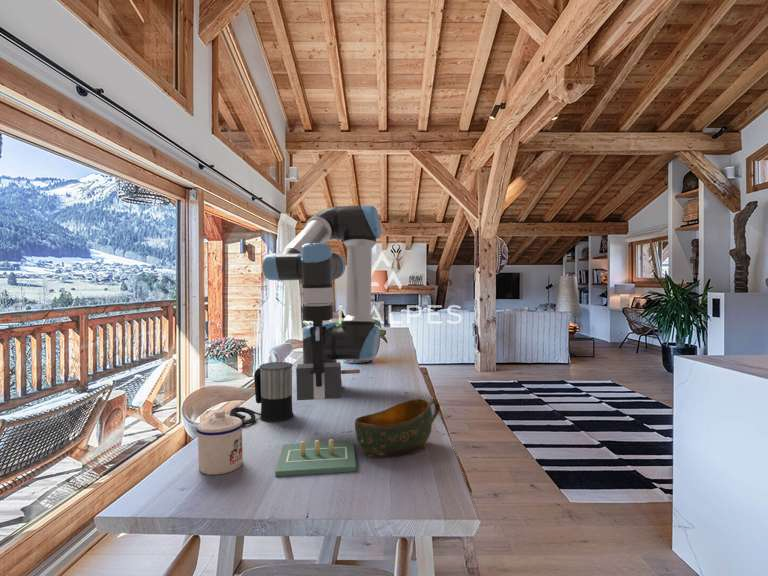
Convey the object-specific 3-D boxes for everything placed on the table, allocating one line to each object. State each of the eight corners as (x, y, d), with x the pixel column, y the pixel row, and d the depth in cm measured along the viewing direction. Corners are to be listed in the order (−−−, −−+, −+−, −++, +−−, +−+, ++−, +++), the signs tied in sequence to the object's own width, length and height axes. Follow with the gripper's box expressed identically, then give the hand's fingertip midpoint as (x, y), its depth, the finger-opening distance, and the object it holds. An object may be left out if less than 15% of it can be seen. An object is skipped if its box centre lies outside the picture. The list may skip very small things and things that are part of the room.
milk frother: (300, 413, 125) (299, 362, 125) (265, 432, 110) (264, 374, 110) (260, 408, 130) (259, 359, 130) (222, 425, 116) (220, 370, 115)
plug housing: (298, 394, 113) (297, 364, 112) (360, 391, 114) (359, 361, 114) (297, 400, 108) (296, 368, 107) (361, 397, 109) (360, 365, 109)
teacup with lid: (239, 474, 87) (237, 417, 87) (191, 477, 86) (190, 419, 85) (249, 450, 99) (248, 400, 99) (208, 453, 98) (206, 402, 97)
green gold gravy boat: (449, 459, 93) (447, 412, 92) (355, 463, 92) (354, 415, 92) (439, 437, 106) (438, 396, 105) (357, 440, 105) (356, 398, 105)
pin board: (283, 448, 100) (283, 431, 100) (353, 444, 102) (352, 427, 101) (275, 476, 86) (274, 456, 86) (356, 471, 88) (355, 451, 88)
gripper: (304, 302, 118) (306, 386, 119) (299, 308, 100) (302, 407, 101) (332, 301, 119) (334, 385, 120) (332, 307, 101) (334, 405, 102)
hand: (319, 395), depth 111 cm, fingers closed on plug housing, 5 cm apart
